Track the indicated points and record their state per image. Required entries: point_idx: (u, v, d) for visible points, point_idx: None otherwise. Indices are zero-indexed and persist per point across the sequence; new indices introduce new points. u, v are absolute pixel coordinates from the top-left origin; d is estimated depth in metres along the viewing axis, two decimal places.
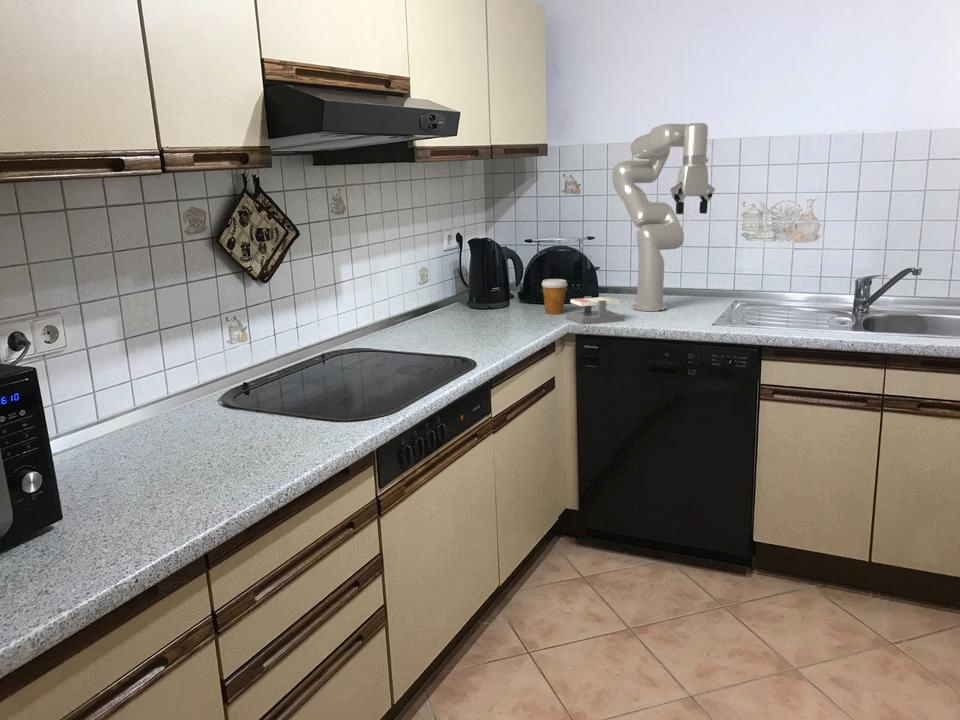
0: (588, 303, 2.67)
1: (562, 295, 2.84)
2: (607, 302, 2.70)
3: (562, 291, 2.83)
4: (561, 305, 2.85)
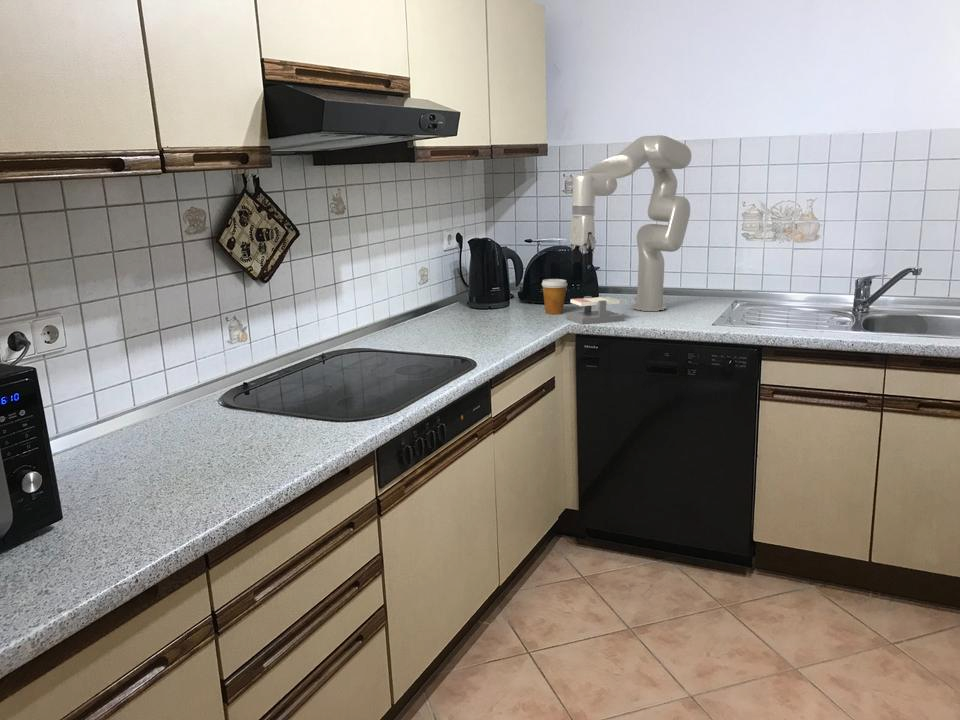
0: (588, 303, 2.67)
1: (562, 295, 2.84)
2: (607, 302, 2.70)
3: (562, 291, 2.83)
4: (561, 305, 2.85)
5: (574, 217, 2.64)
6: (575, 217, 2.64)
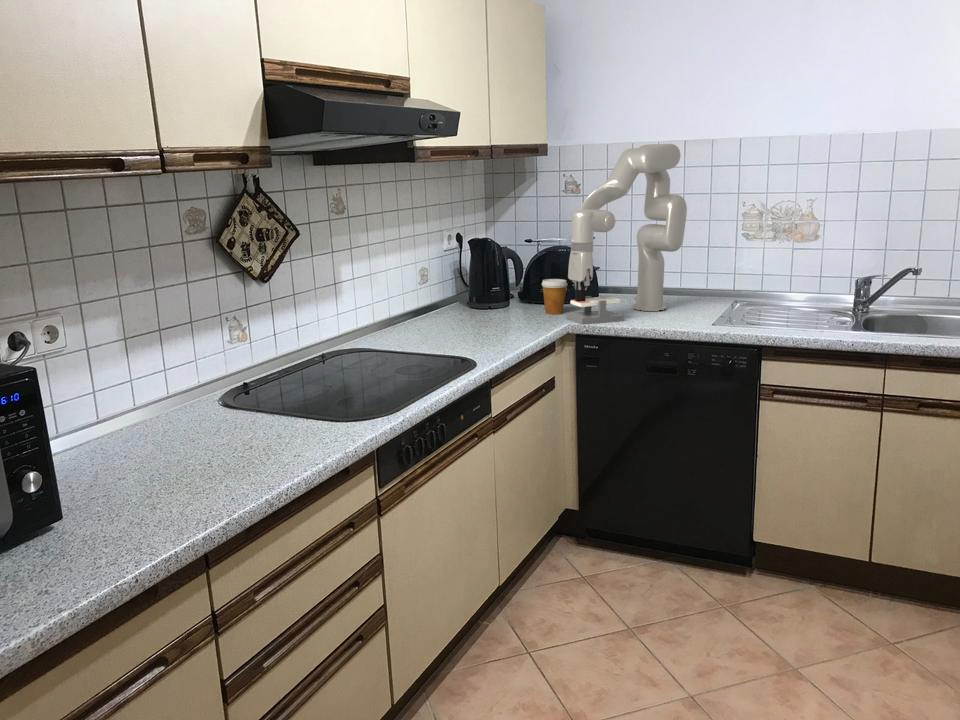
0: (588, 304, 2.67)
1: (562, 295, 2.84)
2: (607, 302, 2.70)
3: (562, 291, 2.83)
4: (561, 305, 2.85)
5: (573, 253, 2.67)
6: (573, 253, 2.67)
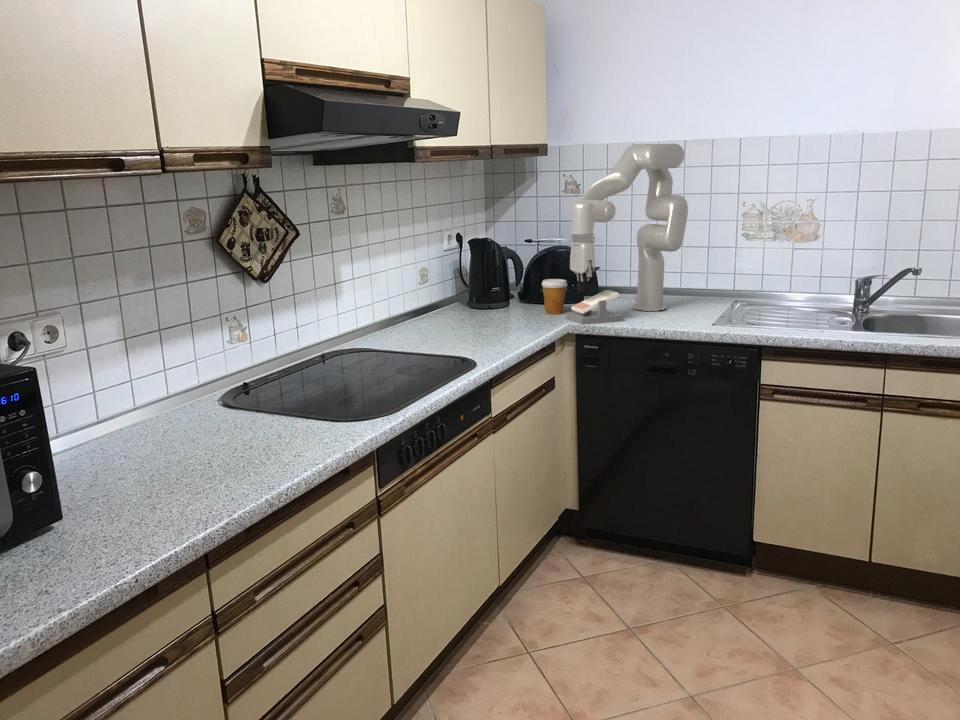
0: (589, 308, 2.68)
1: (562, 295, 2.84)
2: (607, 299, 2.70)
3: (562, 291, 2.83)
4: (561, 305, 2.85)
5: (574, 245, 2.67)
6: (575, 244, 2.66)
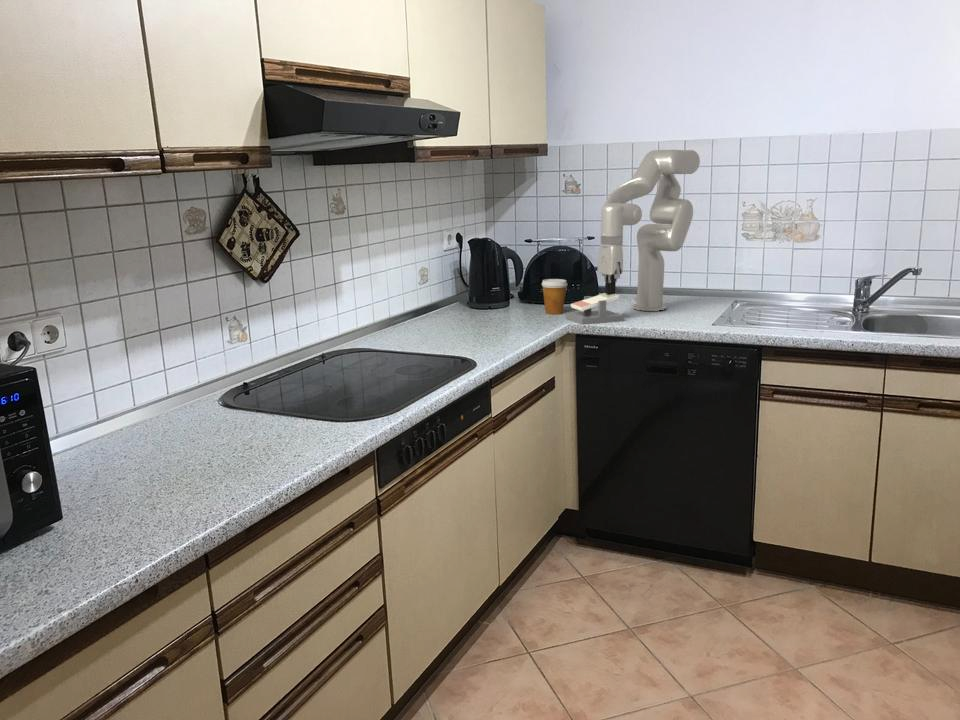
0: (588, 306, 2.68)
1: (562, 295, 2.84)
2: (607, 300, 2.70)
3: (562, 291, 2.83)
4: (561, 305, 2.85)
5: (602, 247, 2.70)
6: (603, 246, 2.70)
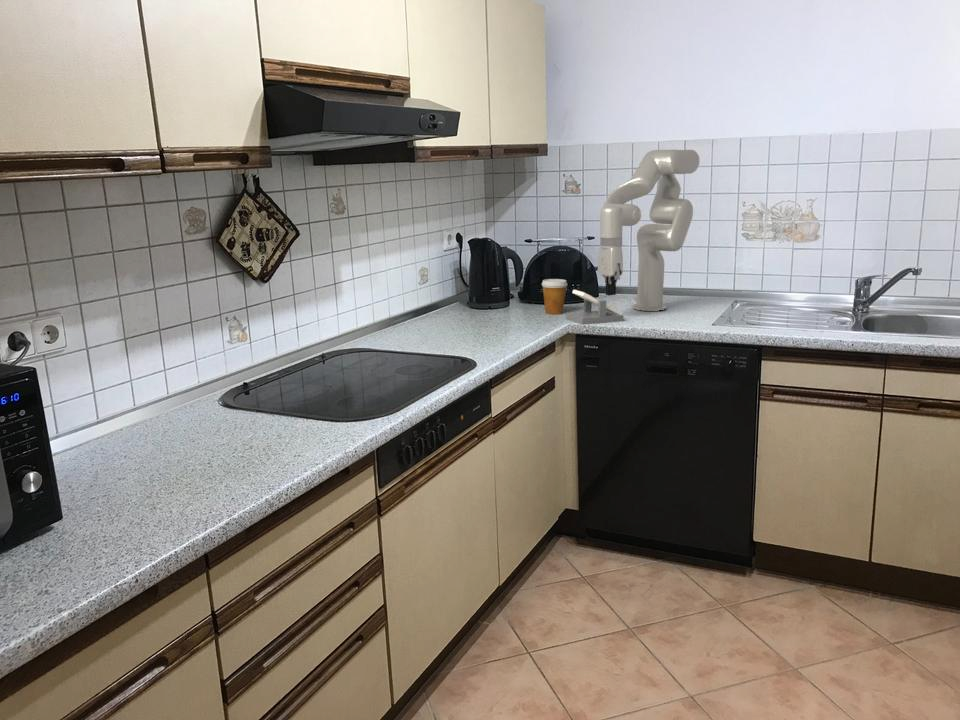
0: (590, 297, 2.67)
1: (562, 295, 2.84)
2: (606, 306, 2.70)
3: (562, 291, 2.83)
4: (561, 305, 2.85)
5: (602, 248, 2.71)
6: (603, 248, 2.70)
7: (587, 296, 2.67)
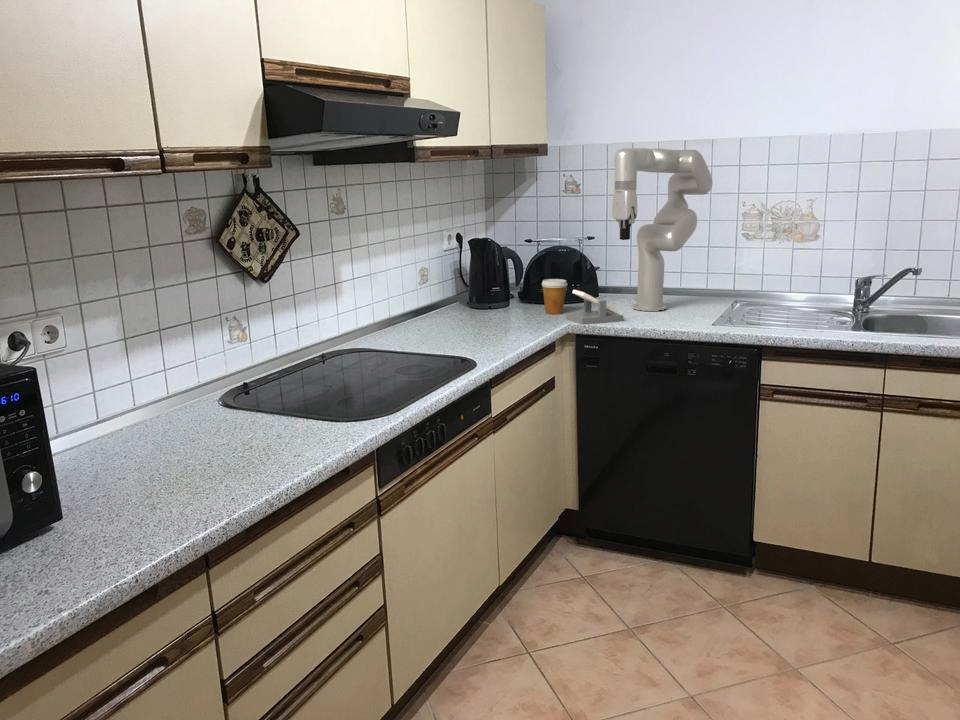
0: (590, 297, 2.67)
1: (562, 295, 2.84)
2: (606, 306, 2.70)
3: (562, 291, 2.83)
4: (561, 305, 2.85)
5: (616, 192, 2.72)
6: (617, 192, 2.71)
7: (587, 296, 2.67)
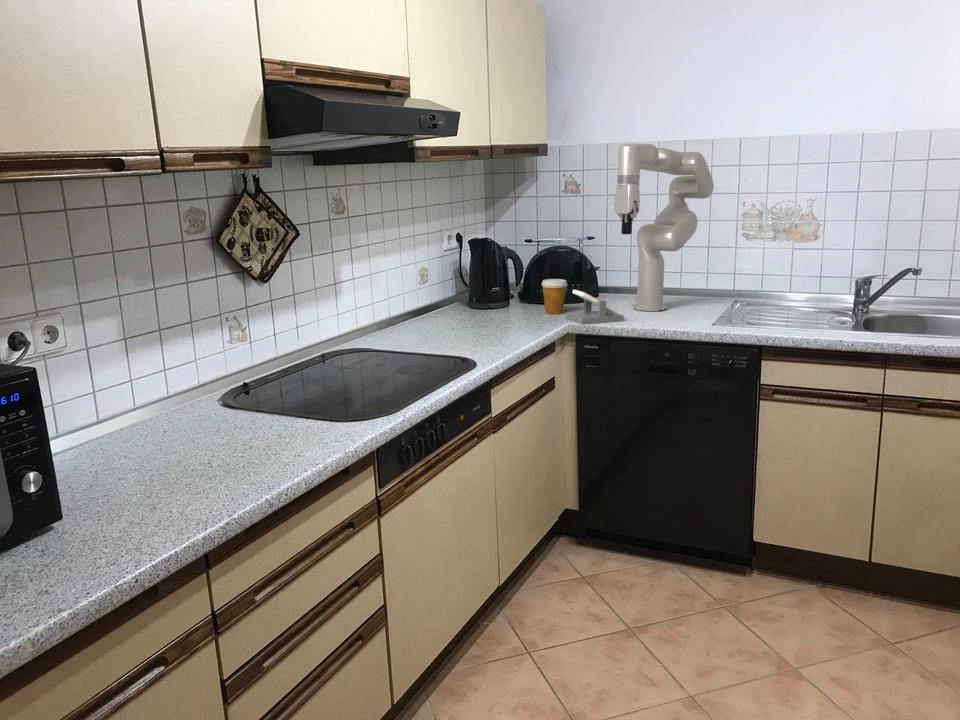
0: (590, 297, 2.67)
1: (562, 295, 2.84)
2: (606, 306, 2.70)
3: (562, 291, 2.83)
4: (561, 305, 2.85)
5: (619, 186, 2.72)
6: (620, 186, 2.72)
7: (587, 296, 2.67)
